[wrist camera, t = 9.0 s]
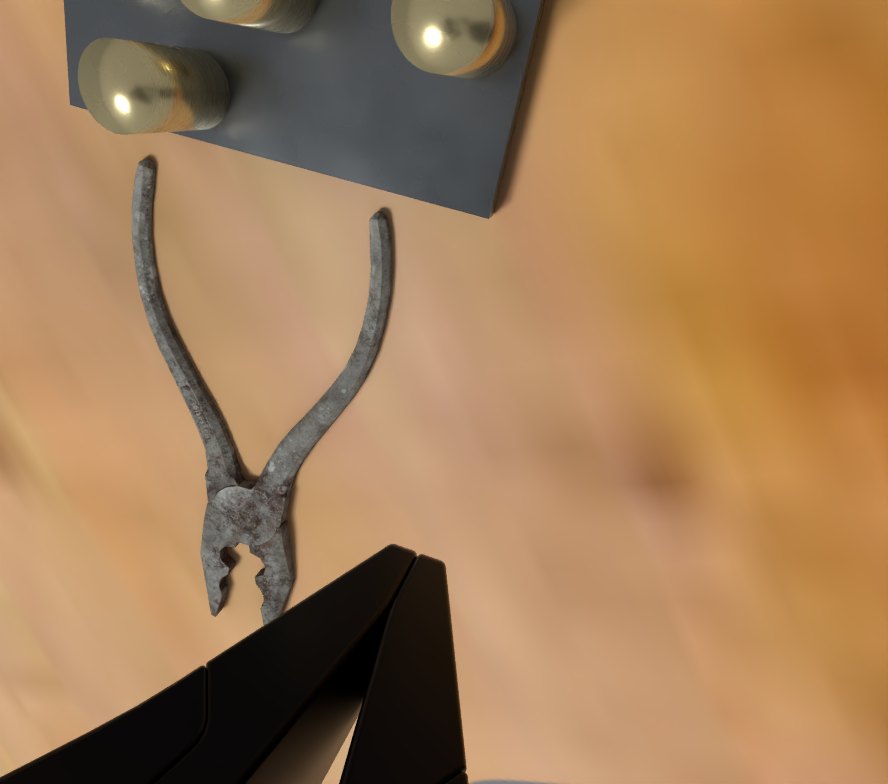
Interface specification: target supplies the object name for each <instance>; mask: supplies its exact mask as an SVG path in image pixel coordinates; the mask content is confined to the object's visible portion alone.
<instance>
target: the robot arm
mask: <svg viewBox="0 0 888 784" xmlns="http://www.w3.org/2000/svg"><path fill="white" fill-rule="evenodd" d="M358 715H359V716H358ZM357 717H358V719H357ZM356 719H357V723H356V726H355V730H354V733H353V737H352V740H351V744H350V747H349V751H348V754H347V758H346V761H345V765H344V769H343V772H342V776H341V779H340V783H339V784H468V776H467V774H466V773H465V772H466V759H465V749H464V739H463V730H462V720H461V710H460V701H459V691H458V681H457V672H456V662H455V652H454V643H453V633H452V623H451V614H450V604H449V594H448V585H447V575H446V566H445V564H444V563H443V562H442V561H440V560H437V559H435V558H432V557H429V556H426V555H424V554H420V555H419V556H417V555H416V553H415V551H413V550H410V549H407V548H404V547H402V546H399V545H396V544H391V545H388V546H387V547H385V548H384V549H382V550H380V551H379V552H377V553H376V554H374V555H373V556H371V557H370V558H368V559H366V560H365V561H363V562H362V563H360V564H359V565H357V566H356V567H354V568H353V569H351V570H349V571H348V572H346V573H345V574H343V575H342V576H340V577H339V578H337V579H336V580H334V581H332V582H331V583H329V584H328V585H326V586H325V587H323V588H322V589H320V590H318V591H317V592H315V593H314V594H312V595H311V596H309V597H308V598H306V599H305V600H303V601H301V602H300V603H298V604H297V605H295V606H294V607H292V608H291V609H289V610H287V611H286V612H284V613H283V614H281V615H280V616H278V617H277V618H275V619H274V620H272V621H270V622H269V623H267V624H266V625H264V626H263V627H261V628H260V629H258V630H256V631H255V632H253V633H252V634H250V635H249V636H247V637H246V638H244V639H243V640H241V641H239V642H238V643H236V644H235V645H233V646H232V647H230V648H229V649H227V650H225V651H224V652H222V653H221V654H219V655H218V656H216V657H215V658H213V659H212V660H210V661H208V662H207V664H206V667H205V666H200V667H198V668H197V669H195V670H194V671H192V672H191V673H189V674H188V675H186V676H185V677H183V678H182V679H180V680H179V681H177V682H175V683H174V684H172V685H170V686H169V687H167V688H165V689H164V690H162V691H161V692H159V693H157V694H156V695H154V696H152V697H151V698H149V699H147V700H146V701H144V702H142V703H141V704H139V705H138V706H136V707H134V708H132V709H130V710H128V711H126V712H125V713H123V714H121V715H119V716H117V717H115V718H114V719H112V720H110V721H108V722H106V723H104V724H102V725H101V726H99V727H97V728H95V729H93V730H91V731H90V732H88V733H86V734H84V735H82V736H80V737H78V738H76V739H74V740H72V741H70V742H68V743H66V744H64V745H62V746H60V747H58V748H56V749H55V750H53V751H51V752H49V753H47V754H45V755H43V756H41V757H39V758H37V759H35V760H33V761H31V762H29V763H27V764H25V765H23V766H22V767H20V768H18V769H16V770H14V771H12V772H10V773H8V774H6V775H4V776H2V777H0V784H321V783H322V781H323V780H324V778H325V776H326V774H327V772H328V770H329V769H330V767H331V765H332V763H333V761H334V759H335V757H336V756H337V754H338V752H339V750H340V748H341V746H342V745H343V743H344V741H345V739H346V737H347V735H348V734H349V732H350V730H351V728H352V726H353V724H354V722H355V721H356Z"/></svg>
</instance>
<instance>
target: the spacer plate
mask: <svg viewBox="0 0 888 784" xmlns="http://www.w3.org/2000/svg"><path fill="white" fill-rule="evenodd" d="M544 1H545V0H64V11H65V28H66V44H67V61H68V78H69V95H70V105H72V106H76V107H80V108H83V109H87V110H89V112H90V114H91V115H92V116H93V117H94V119H95V120H96V121H97V122H98V123H99V124H101V125H102V126H103V127H104V128H106V129H107V130H109V131H111V132H114V133H117V134H123V135H128V134H144V133H160V132H172V133H175V134H179V135H183V136H186V137H190V138H194V139H197V140H201V141H205V142H208V143H212V144H216V145H219V146H223V147H227V148H230V149H234V150H238V151H241V152H245V153H249V154H252V155H256V156H260V157H263V158H267V159H271V160H274V161H278V162H282V163H285V164H289V165H293V166H296V167H300V168H304V169H307V170H311V171H315V172H318V173H322V174H326V175H329V176H333V177H337V178H340V179H344V180H348V181H351V182H355V183H359V184H362V185H366V186H370V187H373V188H377V189H381V190H385V191H388V192H392V193H396V194H399V195H403V196H407V197H410V198H414V199H418V200H421V201H425V202H429V203H432V204H436V205H440V206H443V207H447V208H451V209H454V210H458V211H462V212H465V213H469V214H473V215H476V216H480V217H484V218H487V219H489V218H490V217H492V216H493V212H494V208H495V204H496V200H497V196H498V191H499V187H500V183H501V179H502V175H503V171H504V167H505V162H506V158H507V154H508V150H509V146H510V142H511V138H512V134H513V129H514V125H515V121H516V117H517V113H518V109H519V105H520V101H521V96H522V92H523V88H524V84H525V80H526V76H527V72H528V67H529V63H530V59H531V55H532V51H533V47H534V43H535V39H536V34H537V30H538V26H539V22H540V18H541V14H542V10H543V6H544Z"/></svg>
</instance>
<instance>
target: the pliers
mask: <svg viewBox="0 0 888 784" xmlns="http://www.w3.org/2000/svg"><path fill="white" fill-rule="evenodd" d="M155 172H156V168H155V166H154V164H153V162H152V161H151V160H150V159H143V160H142V161H140V162H139V163H138V167H137V172H136V177H135V183H134V193H133V203H132V238H133V249H134V259H135V267H136V273H137V279H138V284H139V290H140V295H141V298H142V302H143V305H144V309H145V312H146V316H147V319H148V322H149V325H150V327H151V330H152V332H153V334H154V337H155V339H156V342H157V344H158V347H159V349H160V351H161V353H162V355H163V357H164V359H165V361H166V363H167V365H168V367H169V369H170V371H171V373H172V375H173V377H174V379H175V382H176V384H177V386H178V388H179V390H180V392H181V394H182V396H183V398H184V400H185V402H186V404H187V406H188V408H189V410H190V412H191V415H192V417H193V419H194V421H195V424H196V426H197V428H198V431H199V433H200V436H201V439H202V441H203V444H204V447H205V450H206V458H207V465H208V470H207V472H206V474H205V477H206V487H207V496H208V504H207V508H206V513H205V518H204V525H203V534H202V543H201V558H202V564H203V570H204V575H205V581H206V587H207V593H208V598H209V604H210V610H211V615H213V616H215V617H216V616H217V615H218V613H219V612H220V611H221V610H222V608H223V604H224V600H225V597H226V593H227V590H228V586H227V585H228V584H227V582H226V575H228V574H229V572H230V571H231V570H232V569H233V568H234V565H235V562H236V561H235V560H234V559H233V558H232V557H231V556H230V555H229V554H228V553H227V548H226V546H227V547H236V546H237V545H238V544H239V542H240V543H243V544H246V545H249V548H250V553H252V554H254V555H256V556H257V557H259V558H261V560H262V562H263V563H264V565H265V567H266V568H265V569H261V570H260V571H259V573H258V574H257V575H256V576H255V581H256V585H257V586H258V588H260V590H261V592H262V593H263V595H264V596H263V597H264V602H263V604H262V607H261V613H262V619H263V624H264V625H266V624H267V623H269V622H270V621H272V620H274V619H275V618H277V617H278V616H280V615H281V612H282V610H283V607H284V605H285V602H286V599H287V597H288V594H289V592H290V589H291V586H292V584H293V581H294V575H293V567H292V559H291V551H290V543H289V534H288V526H287V521H286V516H287V510H288V505H289V499H290V494H291V488H292V484H293V481H294V478H295V475H296V472H297V471H298V469H299V467H300V466H301V464H302V462H303V460H304V459H305V457H306V456H307V455H308V453H309V452H310V450H311V449H312V448H313V446H314V445H315V444H316V442H317V441H318V440H319V439H320V437H321V436H322V435H323V434H324V433H325V431H326V430H327V429H328V428H329V427H330V425H331V424H332V423H333V422H334V420H335V419H336V418H337V417H338V415H339V414H340V413H341V412H342V411H343V409H344V408H345V407H346V406H347V404H348V403H349V402H350V401H351V399H352V398H353V397H354V395H355V394H356V392H357V391H358V389H359V388H360V386H361V385H362V383H363V382H364V380H365V379H366V377H367V374H368V372H369V370H370V368H371V365H372V363H373V361H374V359H375V357H376V354H377V351H378V347H379V344H380V340H381V337H382V333H383V330H384V326H385V320H386V315H387V309H388V304H389V298H390V284H391V270H392V264H391V238H390V232H389V225H388V219H387V217H386V216H385V215H384V214H383V213H382V212H376V213H375V214H374V215H373V216H372V217H371V219H370V220H369V221H370V257H371V273H370V288H369V298H368V303H367V307H366V312H365V317H364V322H363V326H362V329H361V332H360V335H359V338H358V341H357V344H356V347H355V349H354V351H353V353H352V355H351V357H350V359H349V361H348V363H347V365H346V367H345V369H344V370H343V372H342V373H341V374H340V376H339V377H338V378H337V379H336V381H335V382H334V383H333V385H332V386H331V387H330V388H329V389H328V391H327V392H326V393H325V394H324V395H323V396H322V398H321V399H320V400H319V401H318V402H317V403H316V404H315V405H314V407H313V408H312V409H311V410H310V411H309V412H308V413H307V414H306V415H305V416H304V417H303V418H302V419H301V420H300V421H299V422H298V423H297V424H296V425H295V426H294V427H293V428H292V429H291V431H290V432H289V433H288V434H287V435H286V436H285V438H284V439H283V440H282V441H281V442H280V444H279V445H278V446H277V448H276V449H275V451H274V453H273V454H272V456H271V457H270V459H269V461H268V462H267V464H266V466H265V468H264V470H263V471H262V473H261V475H260V477H259V479H258V481H257V483H254V482H251V481H248V480H245V479H244V477H243V476H242V474H241V468H240V465H239V462H238V460H237V457H236V454H235V451H234V448H233V445H232V443H231V440H230V438H229V435H228V433H227V430H226V428H225V425H224V423H223V421H222V419H221V417H220V415H219V413H218V411H217V410H216V408H215V406H214V404H213V402H212V400H211V398H210V397H209V395H208V393H207V391H206V390H205V388H204V386H203V384H202V383H201V381H200V379H199V377H198V375H197V373H196V371H195V370H194V368H193V366H192V364H191V362H190V360H189V358H188V356H187V354H186V352H185V350H184V349H183V347H182V345H181V343H180V341H179V339H178V337H177V335H176V332H175V330H174V328H173V326H172V324H171V322H170V319H169V317H168V314H167V311H166V308H165V305H164V302H163V299H162V296H161V293H160V288H159V283H158V279H157V274H156V269H155V262H154V253H153V245H152V204H153V195H154V184H155ZM243 480H245V481H243ZM247 481H248V482H247Z"/></svg>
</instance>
